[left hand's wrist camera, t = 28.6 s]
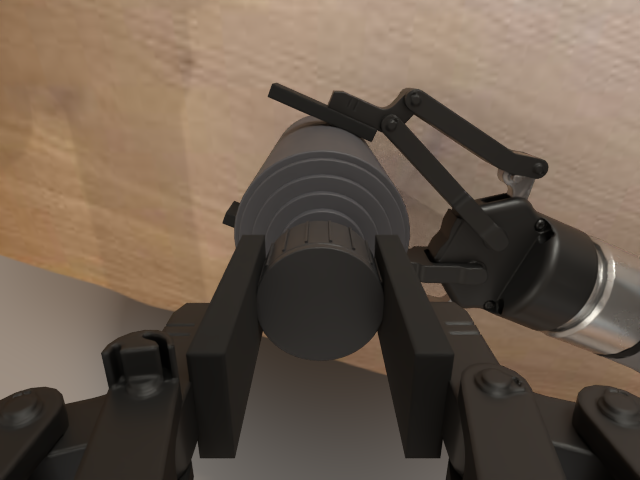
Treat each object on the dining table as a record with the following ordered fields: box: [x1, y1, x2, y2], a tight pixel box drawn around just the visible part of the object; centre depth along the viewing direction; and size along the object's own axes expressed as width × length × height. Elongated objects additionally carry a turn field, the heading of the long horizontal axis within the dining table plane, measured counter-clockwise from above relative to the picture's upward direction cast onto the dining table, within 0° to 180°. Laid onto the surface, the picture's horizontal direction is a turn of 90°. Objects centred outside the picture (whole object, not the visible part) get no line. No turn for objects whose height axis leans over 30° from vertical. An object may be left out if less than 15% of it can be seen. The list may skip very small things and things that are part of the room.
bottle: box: [234, 116, 410, 258], centre depth 24 cm, size 8×8×21 cm
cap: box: [256, 220, 384, 361], centre depth 14 cm, size 4×4×2 cm
